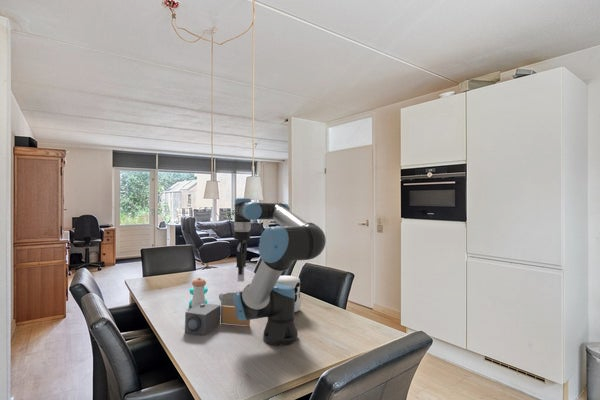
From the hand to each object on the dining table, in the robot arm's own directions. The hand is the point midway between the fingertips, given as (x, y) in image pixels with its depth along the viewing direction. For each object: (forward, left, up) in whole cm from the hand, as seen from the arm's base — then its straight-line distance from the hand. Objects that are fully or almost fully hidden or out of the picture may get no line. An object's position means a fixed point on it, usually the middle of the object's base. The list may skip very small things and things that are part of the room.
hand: (240, 281), depth 147 cm
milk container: (-13, -30, -23) cm, 40 cm away
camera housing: (+17, +5, -22) cm, 28 cm away
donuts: (+37, -24, -23) cm, 49 cm away
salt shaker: (+29, -11, -23) cm, 38 cm away
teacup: (+18, -24, -23) cm, 37 cm away
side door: (+4, -4, -22) cm, 23 cm away
